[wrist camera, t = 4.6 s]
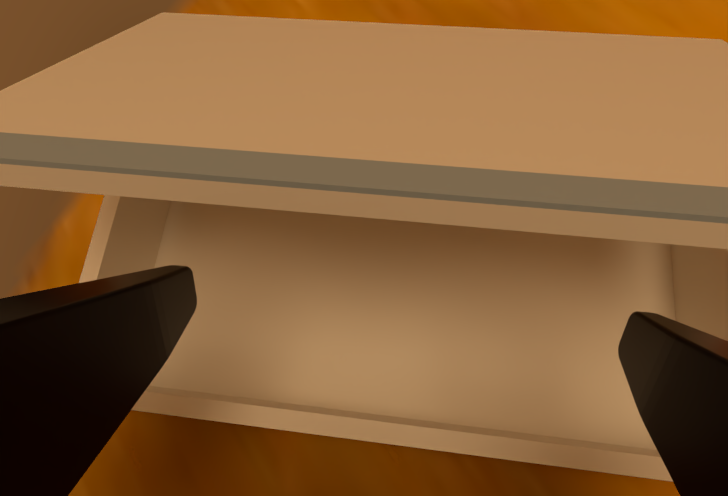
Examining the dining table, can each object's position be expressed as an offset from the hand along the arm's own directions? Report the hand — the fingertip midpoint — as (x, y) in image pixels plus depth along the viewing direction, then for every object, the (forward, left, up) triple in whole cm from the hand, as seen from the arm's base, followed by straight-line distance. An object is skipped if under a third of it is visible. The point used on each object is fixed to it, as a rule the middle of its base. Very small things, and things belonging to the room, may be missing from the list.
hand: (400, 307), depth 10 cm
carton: (+4, 0, -9) cm, 10 cm away
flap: (+6, 0, -2) cm, 6 cm away
